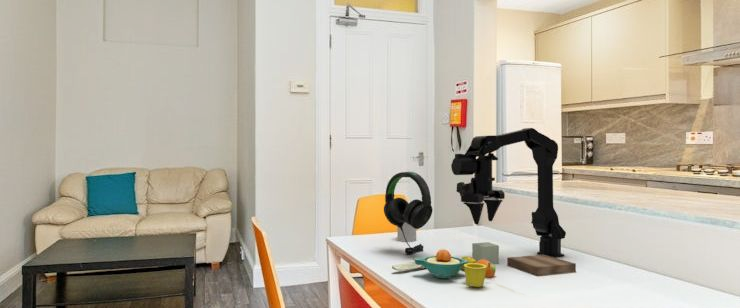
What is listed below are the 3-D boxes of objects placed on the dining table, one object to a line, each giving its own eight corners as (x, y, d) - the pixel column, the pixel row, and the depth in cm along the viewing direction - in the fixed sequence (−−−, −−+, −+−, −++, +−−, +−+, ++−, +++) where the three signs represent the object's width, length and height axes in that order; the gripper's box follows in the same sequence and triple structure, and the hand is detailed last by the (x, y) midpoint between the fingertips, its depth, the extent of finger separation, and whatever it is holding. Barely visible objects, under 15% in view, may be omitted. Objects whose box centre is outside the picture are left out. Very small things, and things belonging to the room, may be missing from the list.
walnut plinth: (543, 262, 155) (543, 254, 155) (575, 272, 142) (575, 263, 142) (507, 265, 150) (507, 257, 150) (537, 276, 137) (537, 267, 137)
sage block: (487, 260, 158) (487, 242, 158) (498, 264, 153) (498, 245, 153) (472, 261, 156) (472, 243, 156) (482, 265, 150) (482, 246, 150)
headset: (379, 253, 169) (379, 171, 169) (404, 248, 178) (404, 170, 178) (418, 261, 156) (419, 172, 156) (443, 255, 166) (443, 171, 166)
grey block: (415, 244, 185) (415, 214, 185) (396, 244, 187) (396, 213, 187) (417, 241, 193) (417, 211, 193) (398, 240, 194) (398, 211, 194)
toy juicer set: (506, 275, 140) (506, 248, 140) (480, 289, 125) (480, 259, 125) (422, 262, 157) (422, 238, 157) (390, 273, 142) (390, 246, 142)
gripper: (475, 173, 167) (475, 217, 167) (446, 175, 153) (446, 223, 153) (505, 173, 160) (505, 220, 160) (477, 175, 146) (477, 227, 146)
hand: (483, 222), depth 155 cm, fingers open, 9 cm apart
